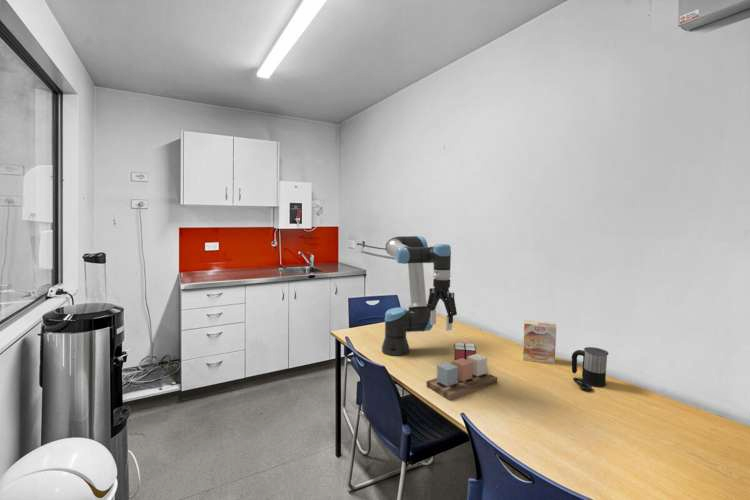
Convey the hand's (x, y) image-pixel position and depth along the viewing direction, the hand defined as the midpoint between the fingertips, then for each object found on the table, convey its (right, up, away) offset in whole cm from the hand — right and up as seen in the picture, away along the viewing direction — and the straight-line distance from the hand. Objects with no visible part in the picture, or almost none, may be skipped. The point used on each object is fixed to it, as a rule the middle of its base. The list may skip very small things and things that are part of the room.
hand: (441, 327), depth 165 cm
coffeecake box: (+54, -22, +22) cm, 63 cm away
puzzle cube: (+14, -23, +15) cm, 31 cm away
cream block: (+16, -20, -1) cm, 26 cm away
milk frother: (+64, -24, -6) cm, 69 cm away
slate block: (+1, -21, -11) cm, 24 cm away
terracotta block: (+8, -21, -6) cm, 23 cm away
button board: (+8, -24, -6) cm, 26 cm away
